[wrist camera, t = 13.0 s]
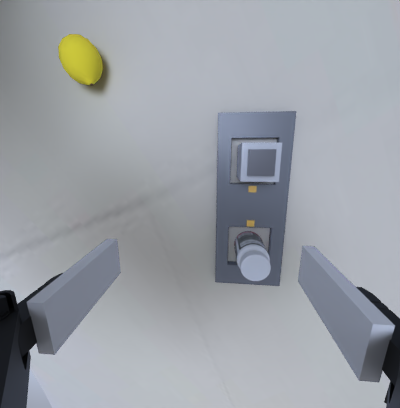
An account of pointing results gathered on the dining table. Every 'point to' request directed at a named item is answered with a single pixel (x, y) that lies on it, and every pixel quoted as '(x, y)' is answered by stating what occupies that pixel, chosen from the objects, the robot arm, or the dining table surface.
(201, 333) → the dining table surface
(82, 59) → the lemon
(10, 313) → the robot arm
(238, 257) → the pill bottle
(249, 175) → the square plug
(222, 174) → the dock
